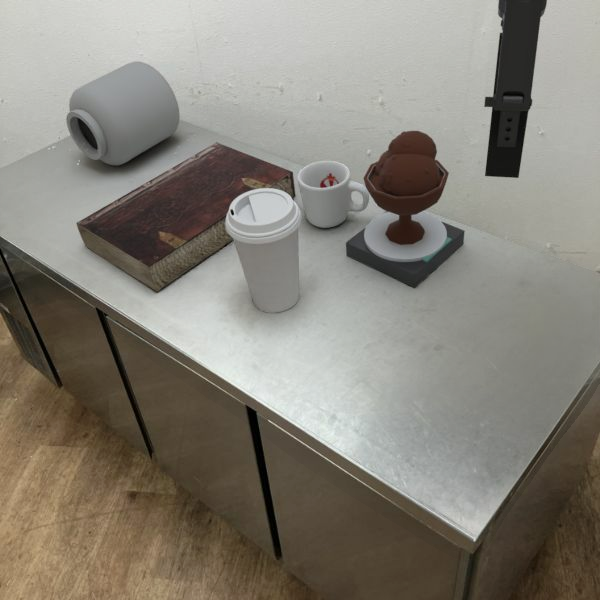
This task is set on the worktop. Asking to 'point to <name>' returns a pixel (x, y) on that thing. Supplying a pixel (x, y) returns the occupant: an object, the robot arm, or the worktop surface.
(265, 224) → the coffee cup
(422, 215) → the scale
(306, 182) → the cup
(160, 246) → the hardback book
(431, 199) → the ice cream bowl
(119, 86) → the jar
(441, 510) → the worktop surface
